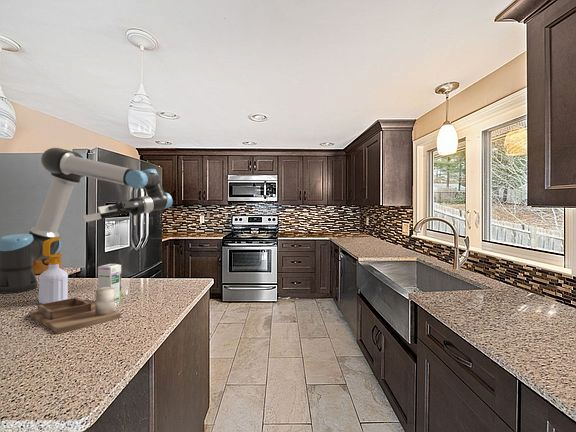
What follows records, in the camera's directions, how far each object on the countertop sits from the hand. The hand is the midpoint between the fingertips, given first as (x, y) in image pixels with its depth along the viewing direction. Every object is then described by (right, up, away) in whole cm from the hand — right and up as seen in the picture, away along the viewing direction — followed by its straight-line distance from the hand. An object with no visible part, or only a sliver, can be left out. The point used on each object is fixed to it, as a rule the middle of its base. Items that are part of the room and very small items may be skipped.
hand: (91, 214), depth 126 cm
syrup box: (+8, -34, -2) cm, 35 cm away
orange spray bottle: (-52, -31, +45) cm, 75 cm away
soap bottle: (-13, -34, -2) cm, 36 cm away
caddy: (+6, -34, -19) cm, 39 cm away
